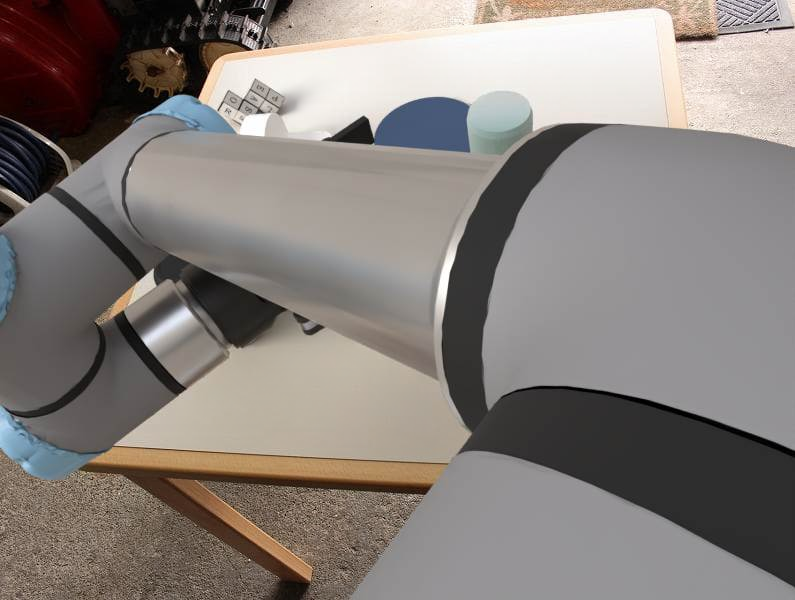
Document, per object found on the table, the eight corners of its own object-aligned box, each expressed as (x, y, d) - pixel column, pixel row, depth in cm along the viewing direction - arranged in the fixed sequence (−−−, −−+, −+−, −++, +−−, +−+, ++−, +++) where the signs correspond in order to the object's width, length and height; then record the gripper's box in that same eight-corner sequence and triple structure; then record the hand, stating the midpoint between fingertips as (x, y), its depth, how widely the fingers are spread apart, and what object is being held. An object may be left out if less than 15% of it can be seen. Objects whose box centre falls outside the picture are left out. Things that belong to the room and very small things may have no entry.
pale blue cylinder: (532, 259, 74) (532, 131, 58) (478, 260, 75) (464, 135, 59) (532, 219, 78) (532, 87, 61) (481, 220, 79) (468, 91, 63)
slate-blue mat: (502, 140, 87) (502, 136, 87) (405, 190, 85) (405, 187, 85) (446, 86, 96) (445, 82, 96) (357, 130, 94) (356, 127, 94)
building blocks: (271, 116, 103) (228, 89, 100) (284, 97, 99) (239, 68, 96) (261, 137, 101) (216, 110, 97) (275, 119, 97) (228, 90, 93)
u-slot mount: (340, 148, 93) (322, 94, 85) (329, 194, 88) (309, 142, 80) (231, 155, 96) (204, 104, 88) (214, 200, 91) (184, 150, 83)
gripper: (163, 256, 56) (344, 134, 61) (308, 448, 43) (525, 271, 48) (117, 200, 50) (323, 69, 55) (270, 403, 37) (523, 205, 42)
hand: (417, 162), depth 52 cm, fingers open, 13 cm apart
